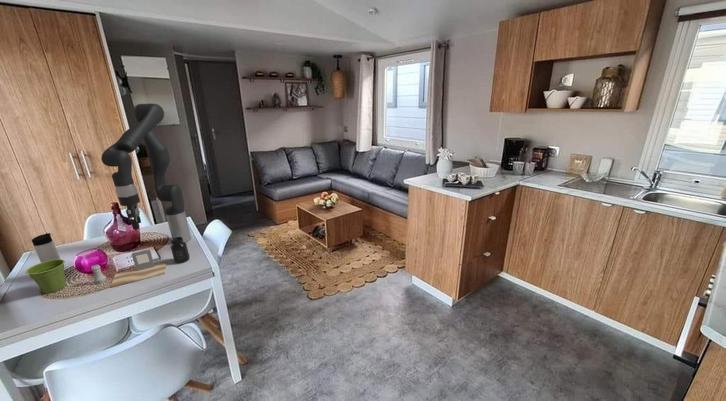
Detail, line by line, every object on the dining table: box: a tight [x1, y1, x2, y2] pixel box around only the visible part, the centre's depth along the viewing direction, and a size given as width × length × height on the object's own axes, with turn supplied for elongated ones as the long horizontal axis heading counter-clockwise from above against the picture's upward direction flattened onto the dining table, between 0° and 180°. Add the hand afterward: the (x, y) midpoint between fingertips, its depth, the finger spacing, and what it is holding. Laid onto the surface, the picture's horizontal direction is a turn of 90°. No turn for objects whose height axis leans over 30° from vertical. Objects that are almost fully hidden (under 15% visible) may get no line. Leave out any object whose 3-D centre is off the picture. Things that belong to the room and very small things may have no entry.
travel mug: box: [31, 232, 66, 273], centre depth 138 cm, size 6×7×20 cm
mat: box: [110, 261, 167, 289], centre depth 138 cm, size 12×20×1 cm, turn 120°
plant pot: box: [25, 258, 67, 294], centre depth 128 cm, size 12×12×11 cm
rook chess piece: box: [90, 264, 108, 285], centre depth 132 cm, size 4×4×8 cm
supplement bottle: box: [170, 237, 191, 264], centre depth 148 cm, size 7×7×12 cm
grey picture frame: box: [131, 248, 156, 271], centre depth 141 cm, size 2×7×9 cm, turn 120°
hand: (137, 226), depth 142 cm, fingers open, 8 cm apart
